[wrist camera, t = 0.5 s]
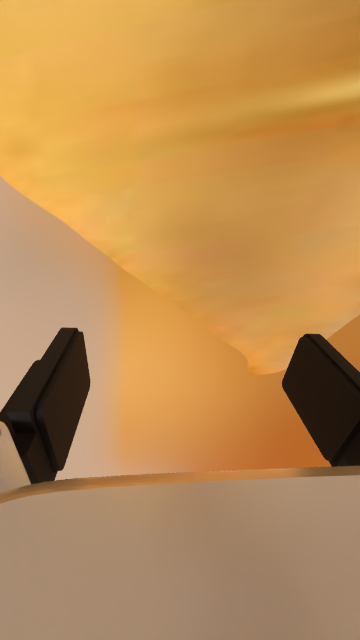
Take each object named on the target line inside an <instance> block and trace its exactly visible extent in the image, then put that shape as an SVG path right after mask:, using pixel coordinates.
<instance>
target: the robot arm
mask: <svg viewBox="0 0 360 640" xmlns="http://www.w3.org/2000/svg"><path fill="white" fill-rule="evenodd" d="M282 387H283V389H284V391H285V392H286V394H287V396H288V398H289V399H290V401H291V403H292V404H293V406H294V408H295V409H296V411H297V413H298V414H299V416H300V418H301V420H302V421H303V423H304V425H305V426H306V428H307V430H308V432H309V433H310V435H311V437H312V438H313V440H314V442H315V443H316V445H317V446H318V448H319V450H320V452H321V453H322V455H323V457H324V458H325V459H326V460H328V461H329V462H330V464H331V466H332V467H310V468H285V469H284V468H283V469H256V470H232V471H207V472H187V473H186V472H185V473H165V474H164V473H163V474H142V475H122V476H107V477H91V478H75V479H65V480H56V481H54V480H55V477H56V474H57V471H61V470H63V468H64V465H65V463H66V459H67V456H68V453H69V450H70V447H71V444H72V441H73V437H74V435H75V431H76V428H77V426H78V422H79V419H80V416H81V413H82V410H83V407H84V404H85V401H86V398H87V395H88V392H89V388H90V376H89V369H88V362H87V355H86V349H85V342H84V335H83V332H79V331H78V329H77V328H61V329H60V331H59V332H58V334H57V335H56V337H55V338H54V340H53V341H52V343H51V344H50V346H49V347H48V349H47V351H46V352H45V354H44V355H43V357H42V358H41V360H37V361H35V362H34V363H33V364H32V366H31V367H30V369H29V370H28V372H27V373H26V375H25V376H24V378H23V379H22V381H21V382H20V384H19V385H18V387H17V388H16V390H15V391H14V393H13V394H12V396H11V397H10V399H9V400H8V402H7V403H6V405H5V406H4V408H3V409H2V411H1V412H0V640H360V372H359V371H358V370H357V369H356V368H354V367H353V366H352V365H351V364H350V363H349V362H348V361H347V360H346V359H345V358H344V357H343V356H342V355H341V354H340V353H339V352H338V351H337V350H336V349H335V348H334V347H333V346H332V345H331V344H330V343H329V342H328V341H327V340H326V339H325V338H324V337H322V336H321V335H320V334H305V335H304V336H303V337H301V338H300V339H299V341H298V344H297V346H296V349H295V351H294V353H293V356H292V358H291V361H290V363H289V366H288V368H287V371H286V373H285V375H284V378H283V380H282Z"/></svg>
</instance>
